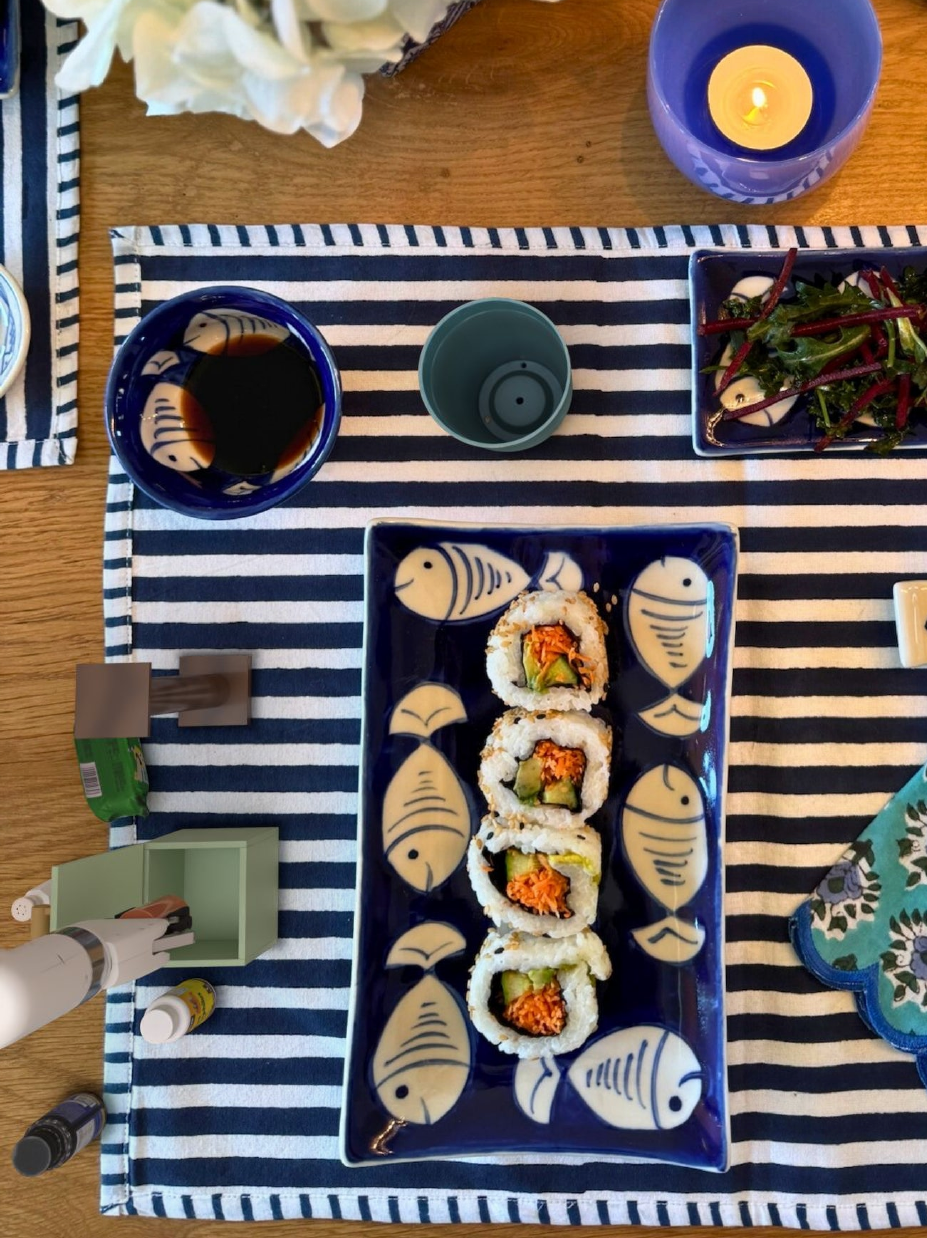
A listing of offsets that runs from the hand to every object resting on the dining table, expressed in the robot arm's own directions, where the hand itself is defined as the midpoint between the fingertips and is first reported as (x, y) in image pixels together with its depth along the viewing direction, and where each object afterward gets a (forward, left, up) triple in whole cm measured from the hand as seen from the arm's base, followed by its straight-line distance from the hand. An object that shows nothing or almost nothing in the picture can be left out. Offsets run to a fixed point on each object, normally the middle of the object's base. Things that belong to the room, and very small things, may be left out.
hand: (160, 921), depth 122 cm
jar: (0, 0, -2) cm, 2 cm away
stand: (-2, +25, -18) cm, 31 cm away
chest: (0, 0, -18) cm, 18 cm away
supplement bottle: (-4, -14, -18) cm, 23 cm away
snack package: (-14, +16, -18) cm, 28 cm away
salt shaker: (-20, 0, -18) cm, 27 cm away
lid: (-7, 0, -1) cm, 7 cm away
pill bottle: (-18, -28, -18) cm, 38 cm away
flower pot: (+38, +62, -18) cm, 75 cm away
